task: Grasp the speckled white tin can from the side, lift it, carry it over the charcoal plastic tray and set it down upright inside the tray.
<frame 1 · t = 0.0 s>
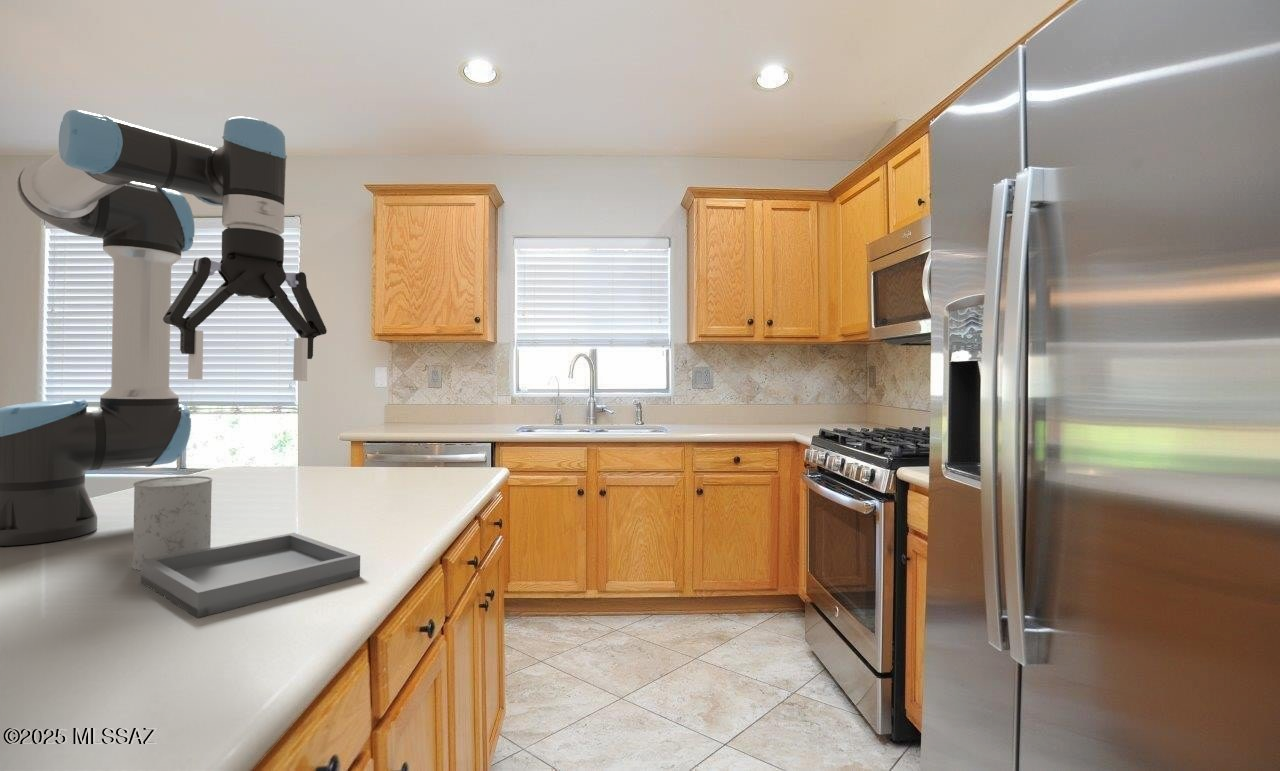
hand: (250, 380, 87), 28 cm above the counter, fingers open, 13 cm apart
tray: (253, 579, 85), on the counter
speckled white tin can: (172, 562, 93), on the counter
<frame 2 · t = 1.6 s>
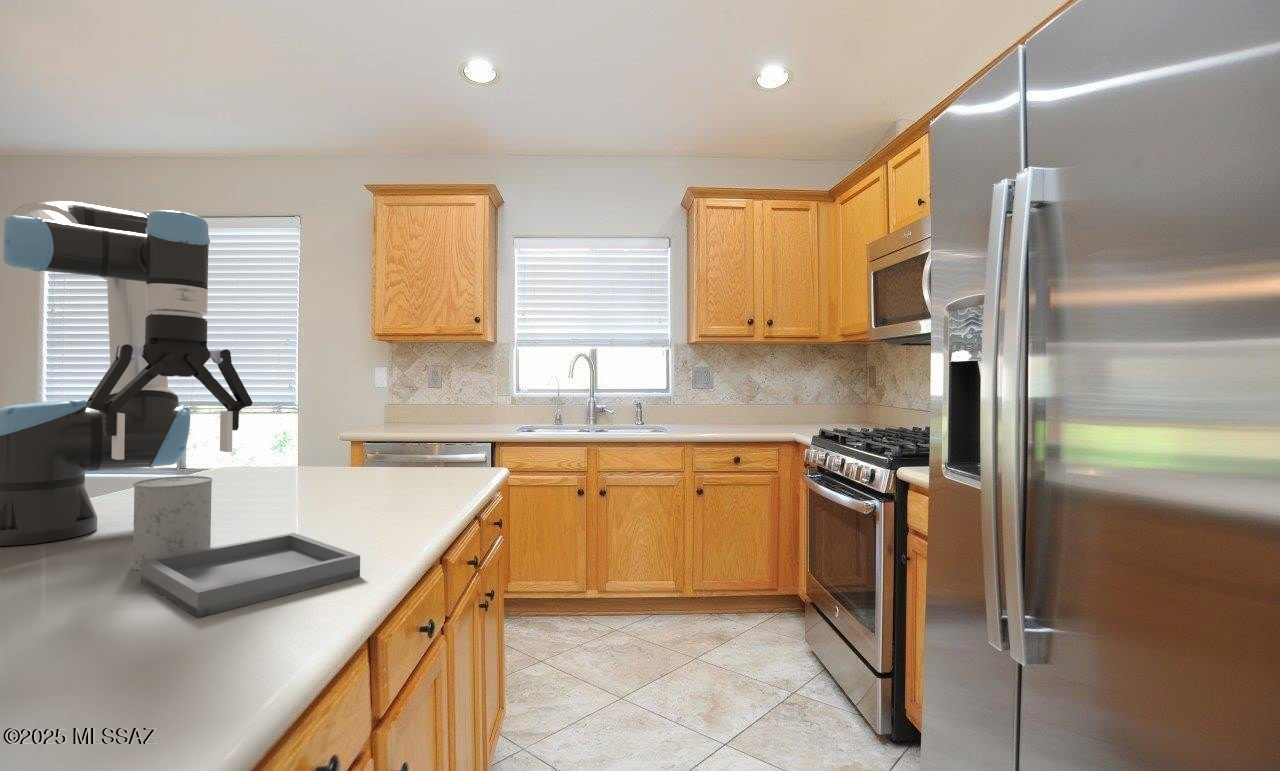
hand: (175, 455, 92), 16 cm above the counter, fingers open, 13 cm apart
nothing on the counter moved.
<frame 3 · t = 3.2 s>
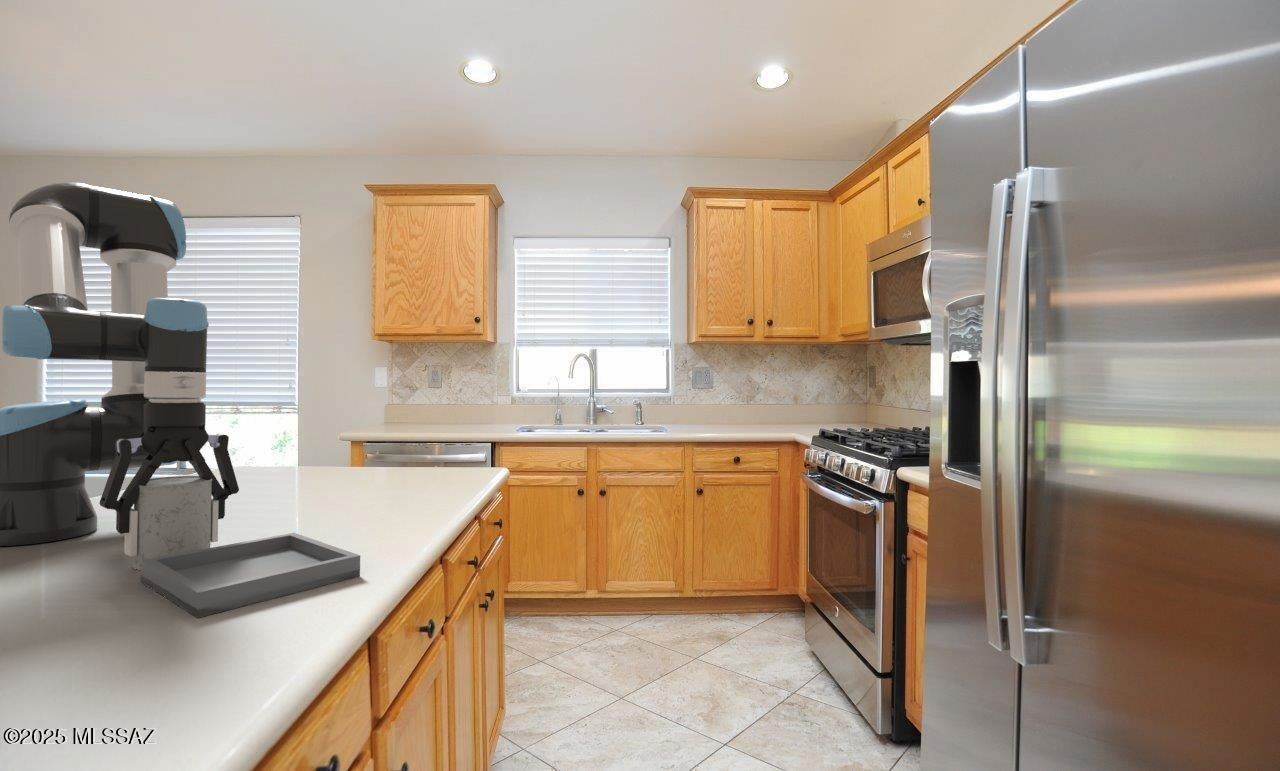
hand: (172, 547, 93), 2 cm above the counter, fingers closed on speckled white tin can, 9 cm apart
speckled white tin can: (172, 562, 93), on the counter, touching gripper
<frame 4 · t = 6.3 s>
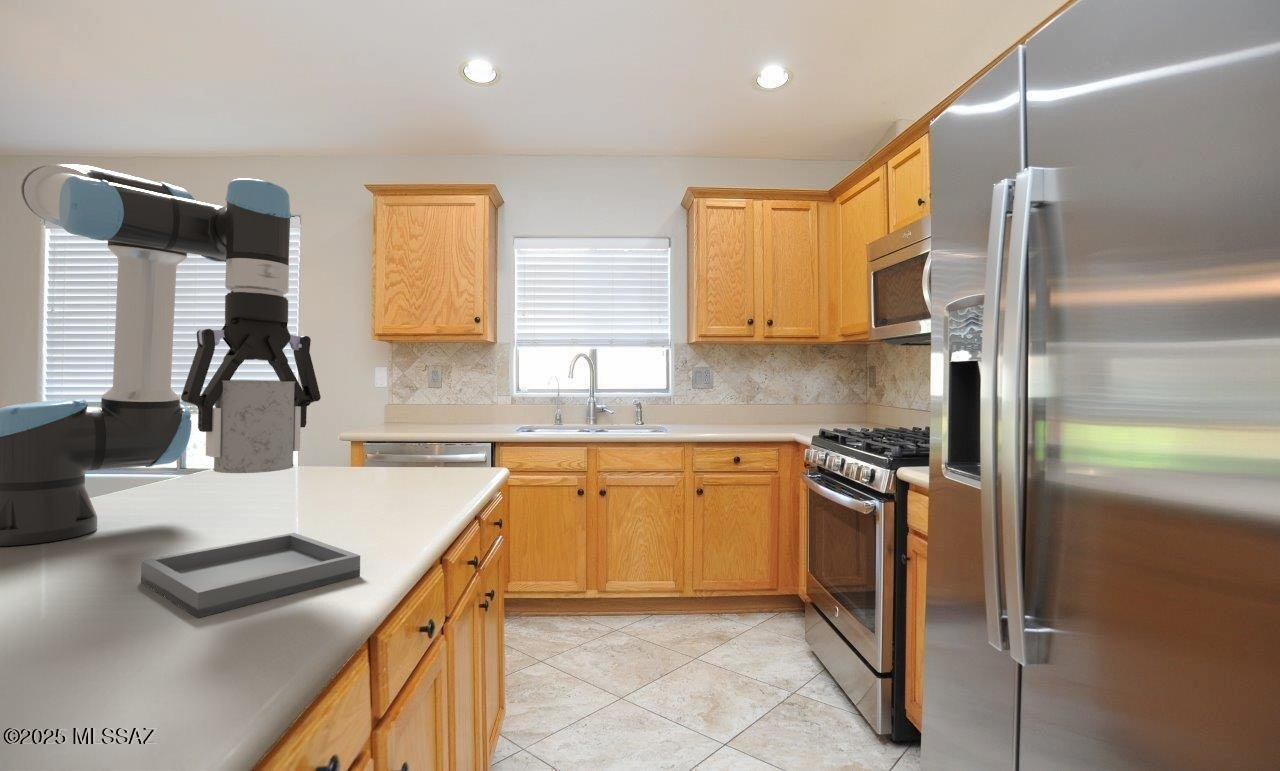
hand: (254, 453, 85), 18 cm above the counter, fingers closed on speckled white tin can, 9 cm apart
speckled white tin can: (254, 469, 85), point 15 cm above the counter, touching gripper
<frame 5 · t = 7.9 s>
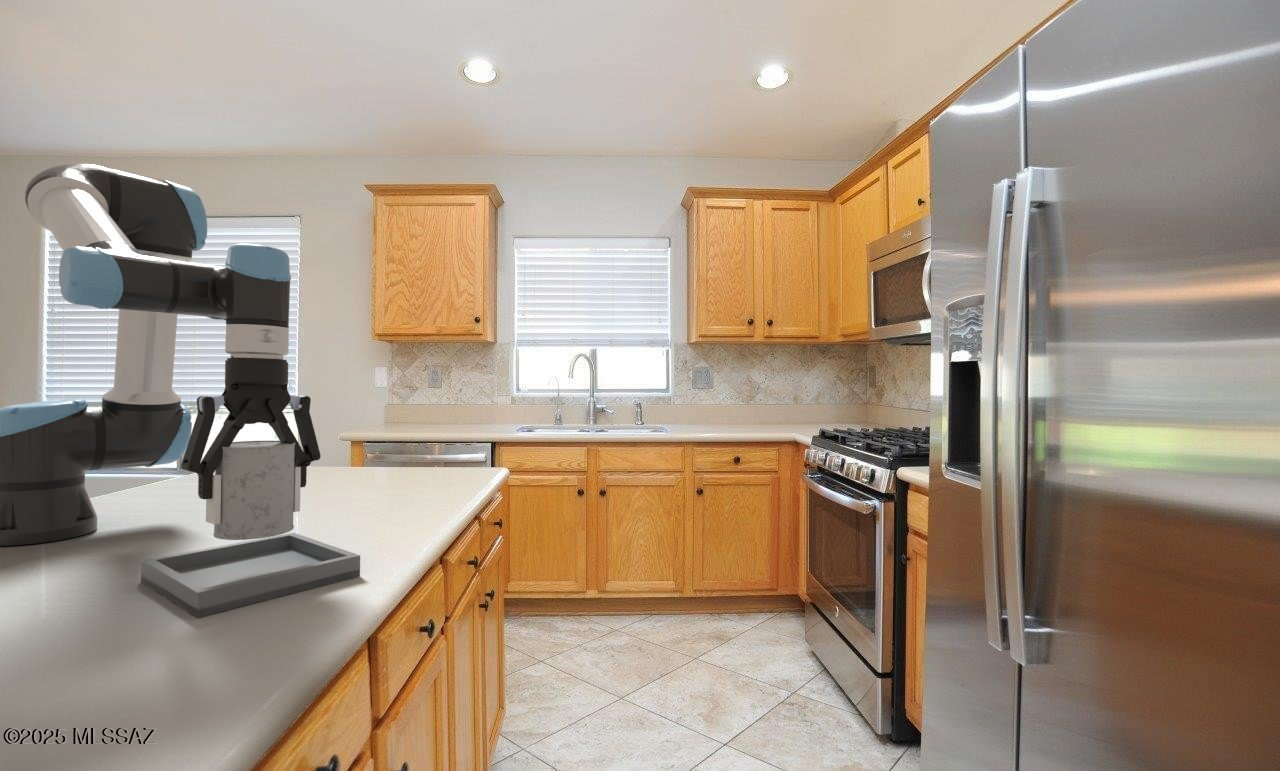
hand: (254, 516, 85), 9 cm above the counter, fingers closed on speckled white tin can, 9 cm apart
speckled white tin can: (254, 532, 85), point 7 cm above the counter, touching gripper
when the fingers open (5 cm above the counter, at t = 9.3 s): speckled white tin can drops 1 cm, resting on tray.
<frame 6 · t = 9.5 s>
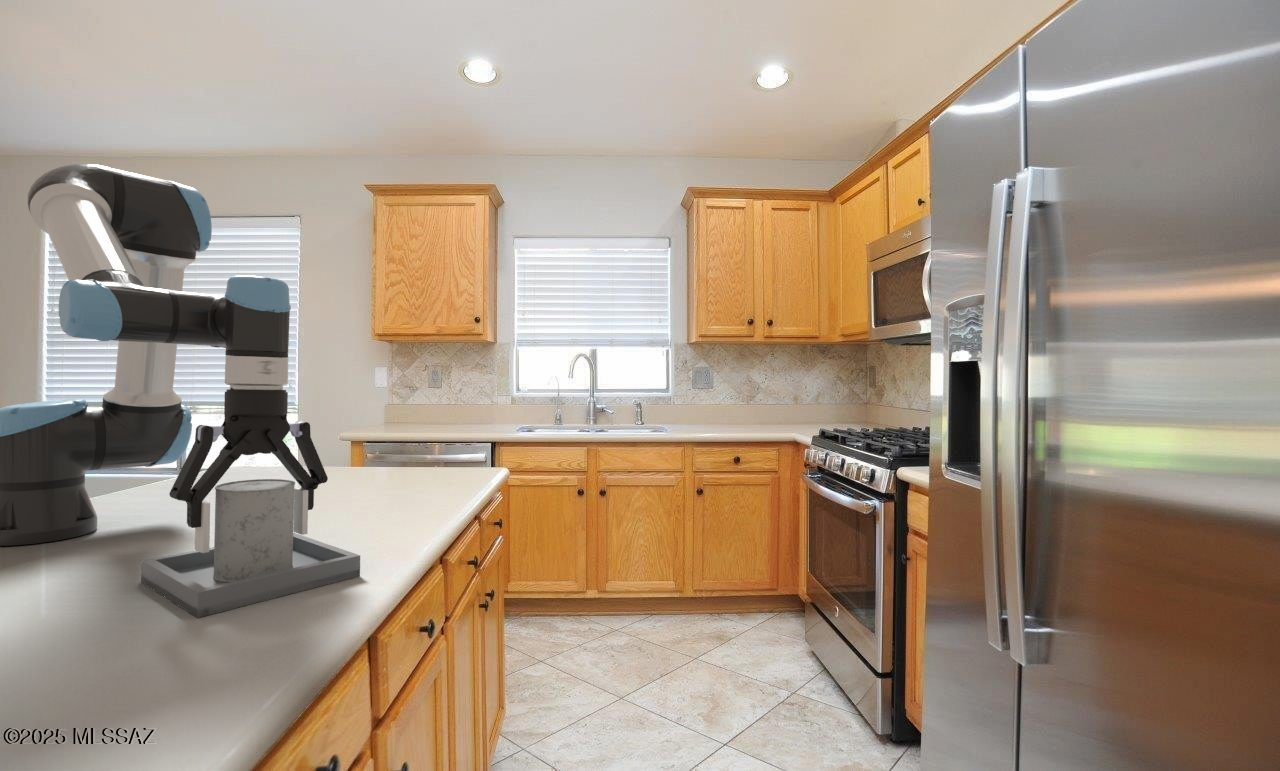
hand: (254, 541, 85), 5 cm above the counter, fingers open, 12 cm apart
speckled white tin can: (254, 573, 85), point 1 cm above the counter, touching tray
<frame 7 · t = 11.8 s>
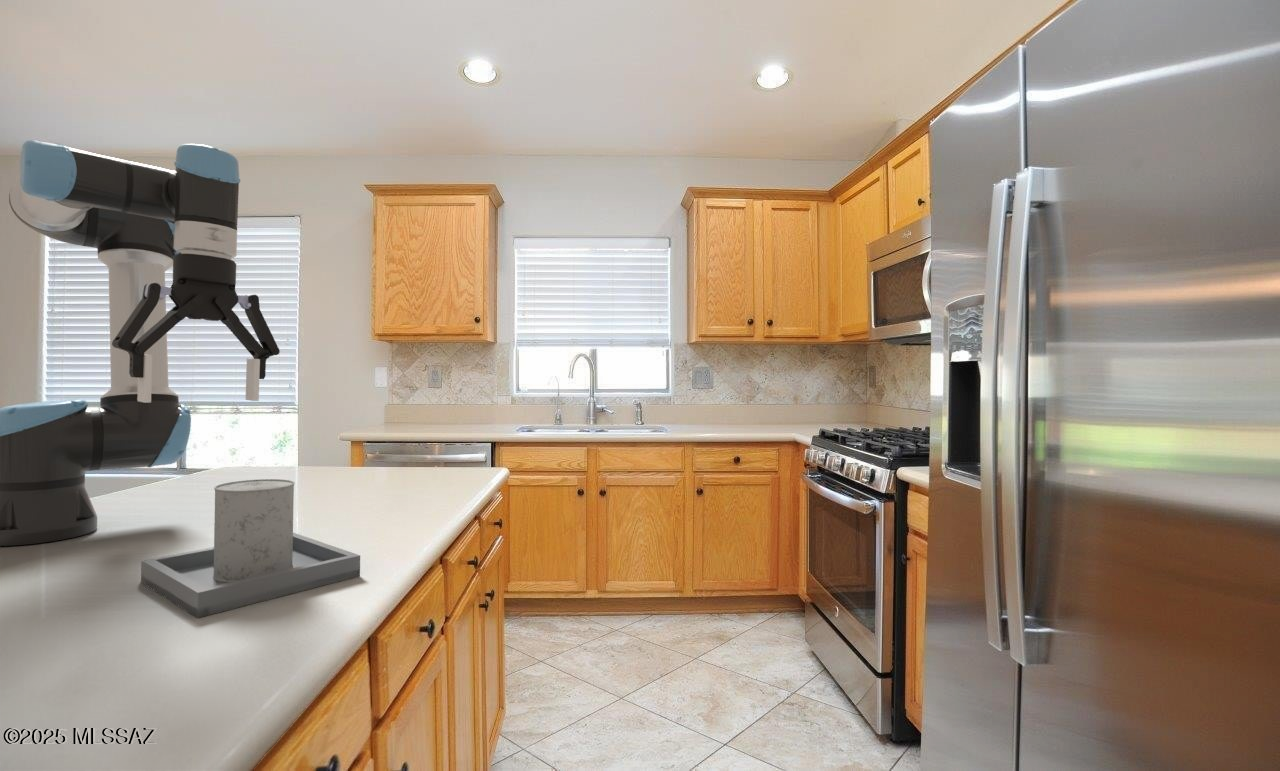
hand: (201, 401, 89), 25 cm above the counter, fingers open, 13 cm apart
nothing on the counter moved.
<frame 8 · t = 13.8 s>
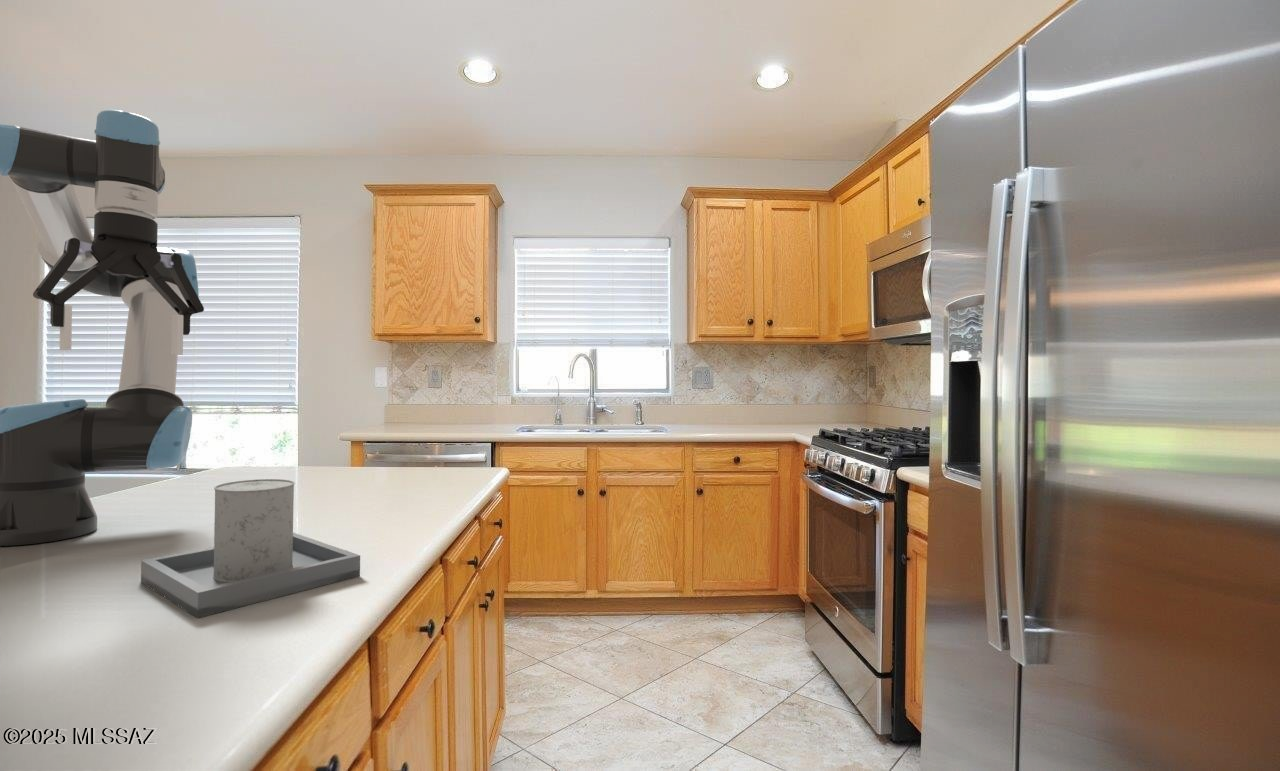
hand: (124, 352, 94), 32 cm above the counter, fingers open, 13 cm apart
nothing on the counter moved.
at the end: speckled white tin can inside the target area on the tray (0.1 cm from its centre), point 0.8 cm above the tray's base; speckled white tin can tilted 0°; the gripper is holding nothing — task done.
